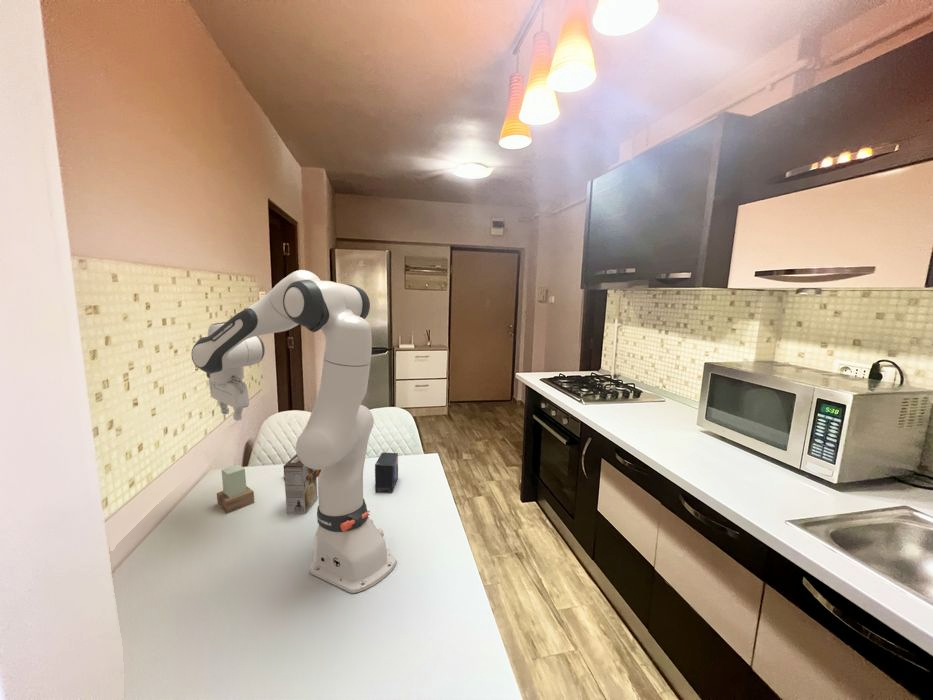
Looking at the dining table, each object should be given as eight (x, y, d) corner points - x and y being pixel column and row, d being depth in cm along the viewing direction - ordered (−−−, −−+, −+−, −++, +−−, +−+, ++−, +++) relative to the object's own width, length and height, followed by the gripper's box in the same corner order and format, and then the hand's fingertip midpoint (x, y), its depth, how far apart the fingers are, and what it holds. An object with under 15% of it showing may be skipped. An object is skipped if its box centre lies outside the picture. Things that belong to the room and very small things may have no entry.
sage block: (246, 491, 124) (244, 468, 123) (229, 498, 120) (227, 474, 119) (240, 486, 127) (238, 464, 126) (223, 492, 123) (221, 469, 122)
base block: (254, 502, 125) (253, 491, 125) (227, 513, 119) (226, 501, 118) (244, 494, 130) (243, 483, 129) (217, 504, 124) (216, 493, 123)
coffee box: (299, 498, 128) (296, 453, 126) (318, 498, 128) (315, 453, 126) (286, 513, 119) (282, 465, 117) (306, 514, 119) (303, 465, 117)
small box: (393, 493, 132) (392, 465, 130) (374, 493, 132) (373, 464, 130) (399, 478, 142) (398, 452, 141) (381, 478, 142) (381, 451, 141)
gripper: (253, 376, 115) (256, 421, 117) (225, 368, 127) (229, 408, 129) (230, 380, 110) (234, 426, 112) (203, 371, 122) (208, 412, 124)
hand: (231, 416), depth 121 cm, fingers open, 8 cm apart
